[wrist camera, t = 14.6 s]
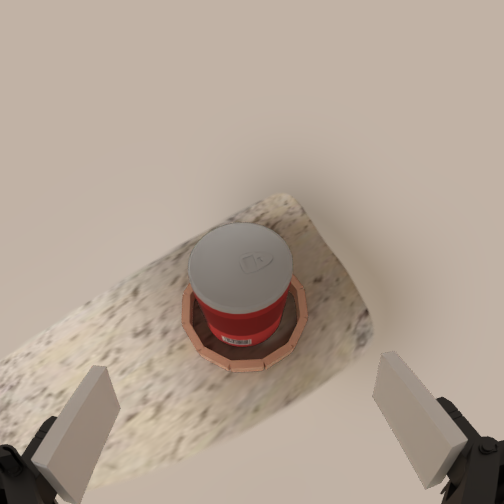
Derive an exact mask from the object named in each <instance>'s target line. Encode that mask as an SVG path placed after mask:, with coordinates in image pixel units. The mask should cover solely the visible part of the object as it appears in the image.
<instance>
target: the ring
mask: <svg viewBox="0 0 504 504" xmlns="http://www.w3.org/2000/svg"><path fill="white" fill-rule="evenodd" d="M289 291H290V293H291V294H292V295H293V297H294V298H295V306H296V314H297V325H296V327H295V329H294V331H293V333H292V335H291V337H290V339H289V342H288V343H286V344H285V345H283V346H282V347H280V348H279V349H277V350H276V351H274V352H273V353H271V354H270V355H268V356H266V357H265V358H263V359H254V360H229V359H227V358H225V357H223V356H221V355H219V354H217V353H215V352H214V351H212V350H210V349H208V348H206V347H204V346H203V344H202V342H201V341H200V339H199V337H198V336H197V334H196V332H195V331H194V329H193V304H194V301H195V299H196V297H195V295H194V292H193V290H192V287H191V284H190V283H189V285H188V286H187V288H186V289H185V291H184V295H183V299H182V322H181V323H182V324H183V325H182V326H183V328H184V329H185V331H186V333H187V335H188V336H189V338H190V340H191V342H192V343H193V345H194V347H195V348H196V350H197V352H198V353H199V354H200V356H202V357H203V358H204V359H206V360H208V361H210V362H212V363H214V364H216V365H218V366H219V367H221V368H223V369H225V370H227V371H230V369H231V371H232V372H247V371H263V368H265V370H266V369H268V368H269V367H271V366H272V365H274V364H275V363H277V362H278V361H280V360H282V359H283V358H285V357H286V356H288V355H289V354H291V352H292V351H293V350H294V348H295V346H296V344H297V342H298V340H299V338H300V335H301V333H302V331H303V329H304V327H305V325H306V322H307V320H308V319H307V318H308V312H307V304H306V297H305V290H304V289H303V286H302V284H301V283H300V282H299V281H298V279H297V278H296V277H295V276H294V274H293V273H292V279H291V284H290V288H289Z"/></svg>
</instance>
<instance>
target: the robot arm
mask: <svg viewBox="0 0 504 504" xmlns="http://www.w3.org/2000/svg"><path fill="white" fill-rule="evenodd" d="M373 398H374V400H375V402H376V403H377V405H378V407H379V408H380V410H381V412H382V414H383V415H384V417H385V419H386V420H387V422H388V424H389V426H390V427H391V429H392V431H393V433H394V434H395V436H396V438H397V440H398V441H399V443H400V445H401V447H402V448H403V450H404V452H405V454H406V455H407V457H408V459H409V461H410V462H411V464H412V466H413V468H414V470H415V472H416V473H417V475H418V477H419V479H420V481H421V482H422V484H423V486H424V488H425V489H428V488H430V487H433V486H435V485H437V484H439V483H441V482H442V481H443V479H444V478H445V476H446V475H447V476H448V477H449V479H450V480H449V482H448V483H447V484H446V486H445V487H444V488H443V490H442V491H441V494H443V493H444V492H445V494H444V497H443V500H442V503H441V504H504V440H503V441H499V442H498V441H497V440H495V439H494V438H491V437H488V436H487V437H481V436H480V435H479V434H478V433H477V431H476V430H475V429H474V428H473V427H472V426H471V424H470V423H469V422H468V421H467V419H466V418H465V417H464V416H462V414H461V412H460V411H458V409H457V408H456V407H455V406H454V404H453V403H452V402H451V401H449V400H447V399H446V398H444V397H441V398H437V399H435V398H434V397H433V395H432V394H431V393H430V392H429V391H428V389H427V388H426V387H425V386H424V385H423V383H422V382H421V381H420V380H419V379H418V377H417V376H416V375H415V374H414V373H413V371H412V370H411V369H410V368H409V367H408V366H407V364H406V363H405V362H404V361H403V360H402V359H401V357H400V356H399V355H398V354H397V353H396V352H395V351H392V352H387V353H382V354H381V358H380V363H379V368H378V373H377V378H376V383H375V387H374V392H373ZM120 409H121V408H120V405H119V403H118V400H117V397H116V394H115V391H114V389H113V386H112V383H111V380H110V377H109V373H108V370H107V367H105V366H94V365H93V366H92V368H91V369H90V370H89V372H88V373H87V375H86V376H85V378H84V379H83V380H82V382H81V383H80V385H79V386H78V388H77V389H76V391H75V392H74V393H73V395H72V396H71V398H70V399H69V401H68V402H67V404H66V405H65V407H64V408H63V410H62V411H61V413H60V414H59V416H58V417H54V416H51V417H50V418H49V419H47V420H46V421H45V422H44V423H43V424H42V426H41V427H40V429H39V431H38V432H37V433H36V435H35V438H33V439H32V441H31V442H30V444H29V445H28V447H27V448H26V450H25V451H24V453H23V455H22V456H20V455H19V453H18V452H17V450H16V449H15V448H14V447H13V446H11V445H8V444H5V445H0V504H58V502H57V501H56V499H55V497H56V495H57V494H58V495H59V496H60V497H61V498H62V499H63V500H64V501H66V502H69V503H72V504H80V503H81V500H82V498H83V495H84V493H85V490H86V488H87V485H88V483H89V480H90V478H91V475H92V473H93V470H94V468H95V466H96V463H97V461H98V459H99V456H100V454H101V452H102V449H103V447H104V445H105V442H106V440H107V438H108V436H109V433H110V431H111V429H112V427H113V424H114V422H115V420H116V418H117V416H118V413H119V411H120Z"/></svg>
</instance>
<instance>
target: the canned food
mask: <svg viewBox="0 0 504 504" xmlns="http://www.w3.org/2000/svg"><path fill="white" fill-rule="evenodd" d="M292 273H293V259H292V254H291V251H290V249H289V247H288V245H287V244H286V242H285V241H284V240H283V239H282V237H281V236H280V235H278V234H277V233H276V232H274V231H273V230H271V229H269V228H267V227H265V226H262V225H259V224H255V223H248V222H237V223H231V224H226V225H223V226H220V227H217V228H216V229H214V230H212V231H210V232H208V233H207V234H206V235H205V236H203V237H202V238H201V239H200V240H199V241H198V243H197V244H196V245H195V247H194V248H193V250H192V252H191V255H190V257H189V261H188V275H189V281H190V284H191V287H192V290H193V292H194V295H195V297H196V300H197V302H198V304H199V307H200V309H201V311H202V313H203V316H204V318H205V320H206V322H207V325H208V327H209V329H210V330H211V332H212V333H213V334H214V335H215V336H216V337H217V338H218V339H219V340H221V341H222V342H224V343H226V344H229V345H232V346H238V347H248V346H253V345H256V344H259V343H261V342H263V341H265V340H266V339H268V338H269V337H270V336H271V335H272V334H273V333H274V332H275V331H276V329H277V328H278V326H279V324H280V321H281V318H282V314H283V310H284V307H285V303H286V299H287V296H288V292H289V288H290V284H291V279H292Z"/></svg>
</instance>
